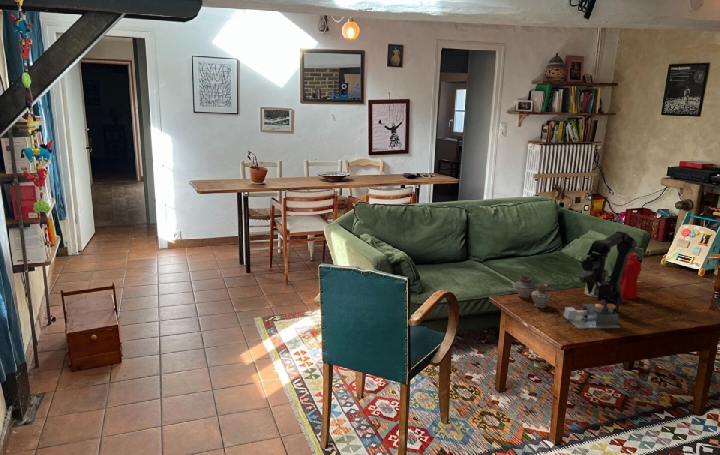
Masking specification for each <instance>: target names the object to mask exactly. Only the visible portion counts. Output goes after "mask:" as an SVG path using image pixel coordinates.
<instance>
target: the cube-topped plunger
mask: <svg viewBox="0 0 720 455" xmlns="http://www.w3.org/2000/svg"><path fill="white" fill-rule="evenodd" d="M588 312H589V310H588V309H587V310H582V309H580V310H577V309H576V308H574V307H573V306H570V307H565V308H564V313H563V314H564V316H565V317H566V318H567V319H576V316H578V315H587V316H588ZM564 316H563V317H564ZM565 317H564V318H565ZM566 318H565V319H566ZM567 319H566V320H567Z"/></svg>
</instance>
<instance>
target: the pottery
mask: <svg viewBox="0 0 720 455" xmlns="http://www.w3.org/2000/svg"><path fill="white" fill-rule="evenodd" d="M513 285H514V286H513V287H514V289H515V291H516V293H518V296H519V297H521V298H524V299H525V298H526V299H528V298H530V296H531V299H532V301H533V302H534V304H533V305H535V306H536V308H538V307H539V308H540V309H544V307H545V308H546V305H547V304H548V303H550V300H551V298H552V295H551V294H550V293H549V292H548V291H547V289H548V284H547V283H541V282H539V283H537V285H535V283H533V282H532V277H531V276H528V275H520V276H519V281H516V282H514V284H513ZM536 288H537V289H536ZM535 306H534V307H535Z"/></svg>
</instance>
